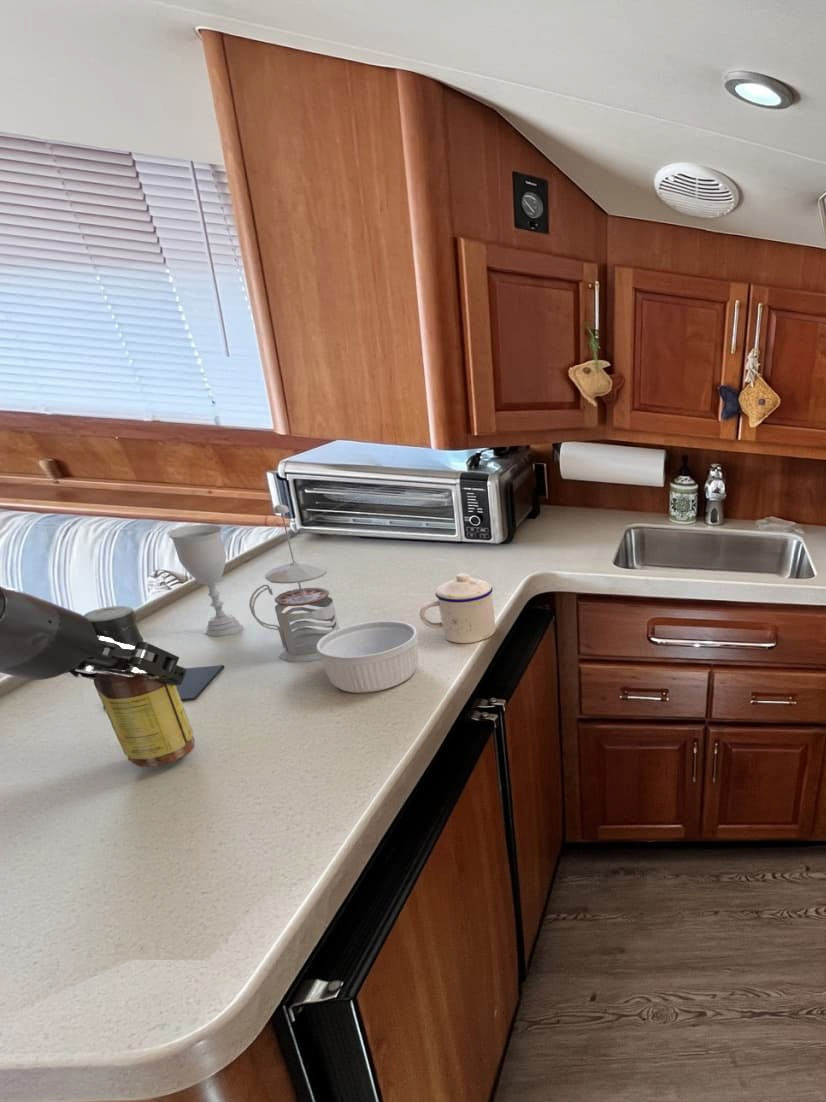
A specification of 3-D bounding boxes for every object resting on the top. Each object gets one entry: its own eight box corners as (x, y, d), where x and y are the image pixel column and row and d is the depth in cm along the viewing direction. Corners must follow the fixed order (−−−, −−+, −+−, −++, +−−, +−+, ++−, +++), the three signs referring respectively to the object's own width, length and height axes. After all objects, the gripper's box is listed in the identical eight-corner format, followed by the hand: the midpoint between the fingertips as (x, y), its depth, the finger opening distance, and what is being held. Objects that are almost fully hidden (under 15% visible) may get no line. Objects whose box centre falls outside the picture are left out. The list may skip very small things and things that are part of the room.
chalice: (197, 626, 111) (166, 528, 104) (247, 617, 116) (220, 522, 109) (199, 642, 106) (166, 540, 99) (251, 632, 111) (223, 534, 104)
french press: (357, 650, 108) (327, 507, 98) (272, 671, 100) (229, 518, 90) (340, 630, 114) (310, 494, 104) (258, 649, 106) (217, 503, 96)
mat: (103, 708, 88) (102, 706, 88) (142, 674, 96) (141, 671, 96) (195, 700, 91) (194, 697, 91) (224, 667, 100) (223, 664, 100)
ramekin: (322, 668, 102) (313, 629, 99) (416, 650, 110) (410, 613, 107) (328, 707, 92) (318, 665, 90) (430, 684, 100) (423, 645, 97)
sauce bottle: (159, 739, 82) (108, 597, 74) (210, 741, 82) (165, 601, 75) (110, 771, 76) (50, 620, 68) (166, 773, 76) (112, 624, 69)
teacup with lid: (490, 619, 123) (484, 563, 118) (502, 638, 116) (496, 579, 112) (420, 632, 116) (410, 572, 111) (428, 652, 109) (418, 590, 105)
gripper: (108, 598, 64) (225, 649, 79) (-58, 592, 62) (95, 645, 77) (76, 670, 61) (204, 708, 76) (-99, 666, 59) (68, 706, 74)
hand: (148, 676), depth 77 cm, fingers closed on sauce bottle, 6 cm apart
